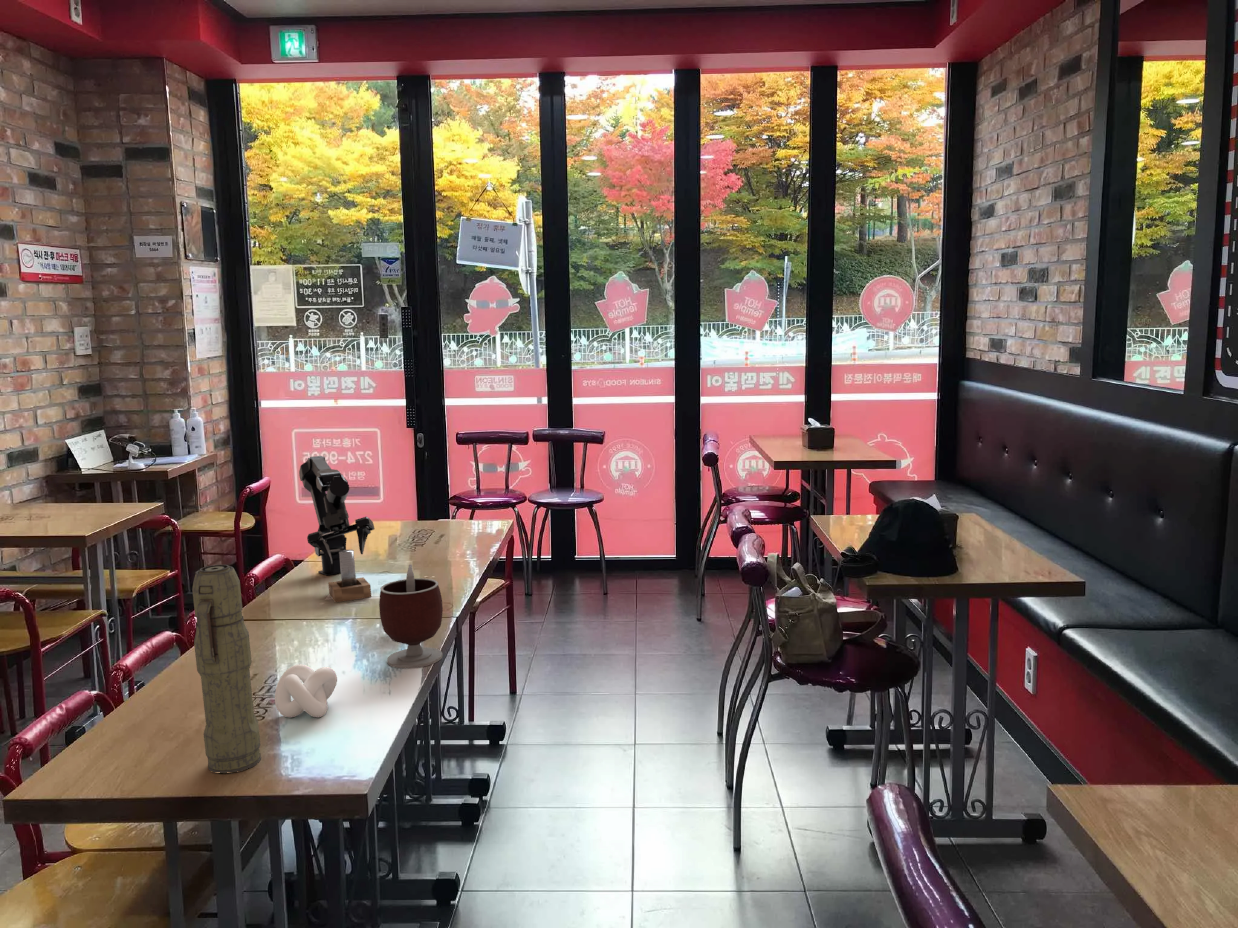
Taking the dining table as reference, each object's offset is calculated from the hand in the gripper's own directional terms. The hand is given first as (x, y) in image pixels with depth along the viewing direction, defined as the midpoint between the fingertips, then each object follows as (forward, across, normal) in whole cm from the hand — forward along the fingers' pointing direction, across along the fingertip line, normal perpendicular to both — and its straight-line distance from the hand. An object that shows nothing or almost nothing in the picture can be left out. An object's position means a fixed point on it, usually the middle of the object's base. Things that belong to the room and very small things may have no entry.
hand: (346, 558), depth 285 cm
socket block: (+12, 0, -4) cm, 13 cm away
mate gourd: (+47, +23, -52) cm, 74 cm away
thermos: (+66, -2, -99) cm, 118 cm away
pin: (+12, 0, -4) cm, 13 cm away
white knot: (+57, +6, -80) cm, 99 cm away
